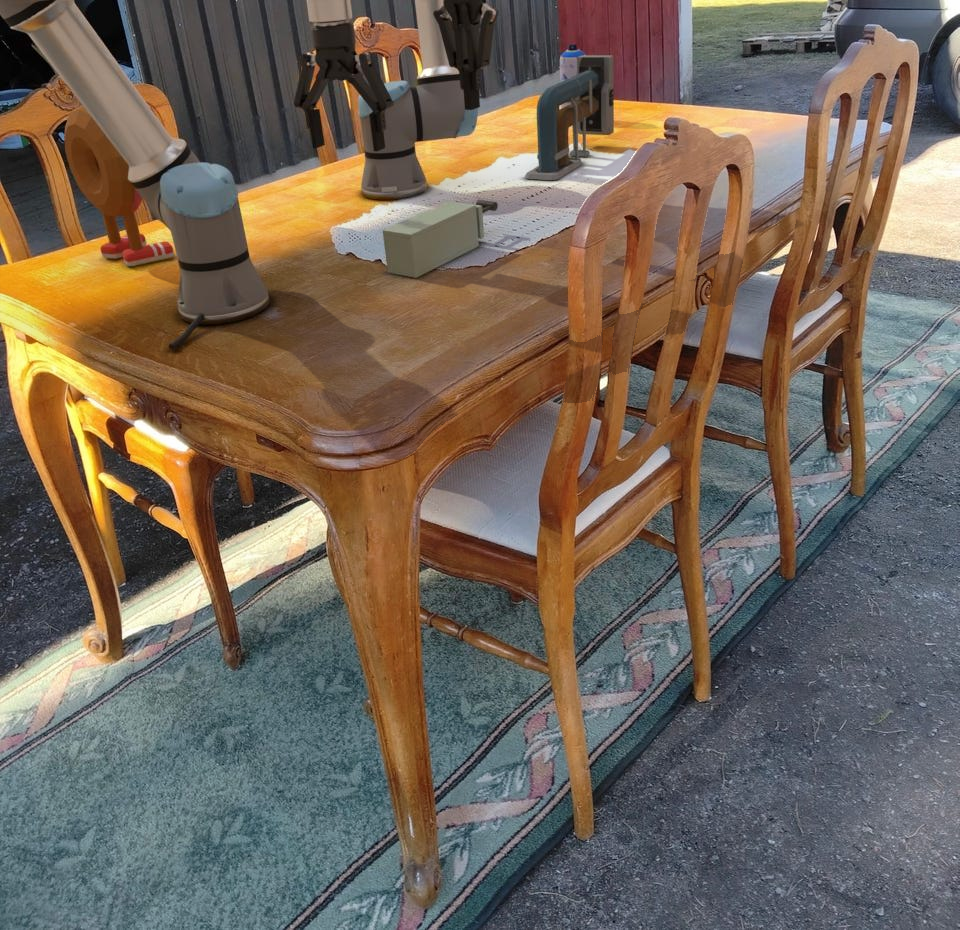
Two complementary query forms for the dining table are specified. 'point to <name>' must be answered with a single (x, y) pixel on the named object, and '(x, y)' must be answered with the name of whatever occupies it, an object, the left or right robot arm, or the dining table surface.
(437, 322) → the dining table surface
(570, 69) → the aerosol can
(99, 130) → the toy
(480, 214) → the drawer
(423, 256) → the cabinet
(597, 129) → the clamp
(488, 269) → the dining table surface
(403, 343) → the dining table surface
